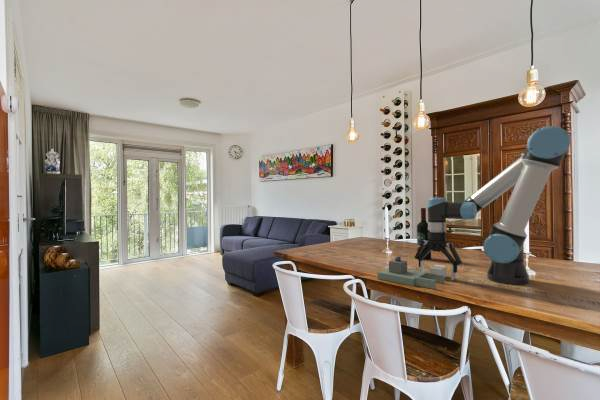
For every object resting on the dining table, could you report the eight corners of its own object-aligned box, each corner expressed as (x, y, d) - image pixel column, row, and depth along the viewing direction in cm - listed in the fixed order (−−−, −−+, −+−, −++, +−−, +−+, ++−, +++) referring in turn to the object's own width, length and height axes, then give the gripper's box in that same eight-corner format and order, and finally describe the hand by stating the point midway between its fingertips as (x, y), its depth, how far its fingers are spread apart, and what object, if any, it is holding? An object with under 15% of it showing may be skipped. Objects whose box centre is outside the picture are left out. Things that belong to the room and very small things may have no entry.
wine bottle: (432, 260, 173) (431, 208, 173) (418, 259, 175) (417, 208, 174) (429, 257, 181) (428, 207, 180) (416, 257, 182) (415, 207, 182)
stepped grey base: (445, 282, 130) (445, 259, 130) (433, 290, 120) (432, 265, 120) (392, 272, 148) (392, 252, 148) (377, 278, 138) (377, 257, 138)
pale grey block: (446, 276, 139) (446, 266, 139) (441, 280, 134) (440, 269, 134) (435, 275, 142) (435, 264, 142) (429, 278, 137) (429, 267, 137)
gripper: (469, 232, 132) (469, 280, 132) (413, 228, 149) (414, 270, 150) (463, 234, 126) (464, 284, 127) (407, 229, 144) (407, 273, 145)
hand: (437, 276), depth 138 cm, fingers open, 13 cm apart
